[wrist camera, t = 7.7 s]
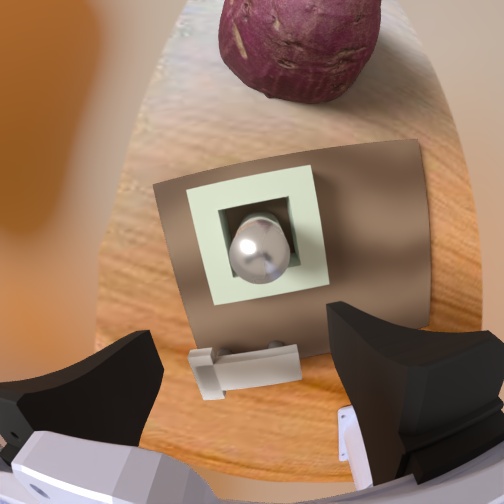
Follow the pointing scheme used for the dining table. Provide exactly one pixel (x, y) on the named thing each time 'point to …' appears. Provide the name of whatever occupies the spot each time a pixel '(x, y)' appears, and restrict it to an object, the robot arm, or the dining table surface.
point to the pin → (259, 248)
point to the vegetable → (298, 45)
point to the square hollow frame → (219, 240)
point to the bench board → (336, 249)
